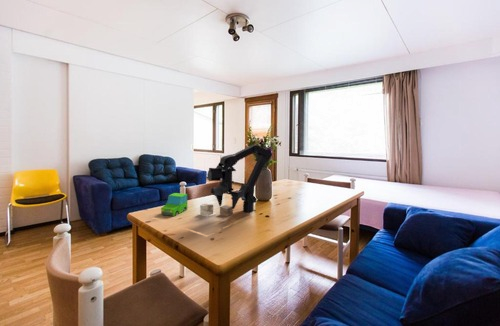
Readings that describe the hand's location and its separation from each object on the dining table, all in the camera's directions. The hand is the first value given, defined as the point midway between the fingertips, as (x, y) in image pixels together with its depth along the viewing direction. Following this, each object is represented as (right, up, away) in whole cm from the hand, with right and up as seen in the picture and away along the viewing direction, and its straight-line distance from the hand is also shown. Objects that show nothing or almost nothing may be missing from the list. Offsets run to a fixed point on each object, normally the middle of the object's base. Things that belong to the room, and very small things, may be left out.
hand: (226, 207), depth 130 cm
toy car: (-29, -4, +2) cm, 30 cm away
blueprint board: (-12, -4, +1) cm, 13 cm away
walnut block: (0, -5, 0) cm, 5 cm away
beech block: (-11, -4, 0) cm, 12 cm away
